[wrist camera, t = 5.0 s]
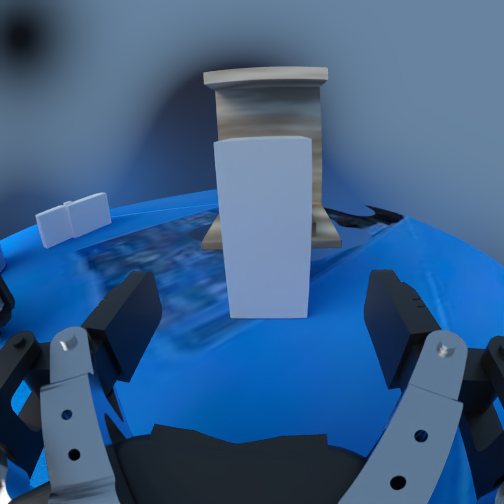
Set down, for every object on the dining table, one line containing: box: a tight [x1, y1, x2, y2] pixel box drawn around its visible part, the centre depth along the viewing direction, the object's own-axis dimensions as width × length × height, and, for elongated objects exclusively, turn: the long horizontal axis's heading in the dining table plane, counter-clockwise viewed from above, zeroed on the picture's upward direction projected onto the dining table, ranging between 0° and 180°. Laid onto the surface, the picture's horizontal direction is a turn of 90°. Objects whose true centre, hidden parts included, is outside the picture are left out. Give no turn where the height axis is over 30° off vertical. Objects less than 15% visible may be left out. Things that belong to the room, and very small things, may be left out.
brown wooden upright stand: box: [201, 67, 342, 250], centre depth 31 cm, size 15×14×19 cm
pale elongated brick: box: [214, 136, 312, 318], centre depth 19 cm, size 6×5×11 cm
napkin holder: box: [36, 193, 112, 249], centre depth 36 cm, size 15×11×6 cm
